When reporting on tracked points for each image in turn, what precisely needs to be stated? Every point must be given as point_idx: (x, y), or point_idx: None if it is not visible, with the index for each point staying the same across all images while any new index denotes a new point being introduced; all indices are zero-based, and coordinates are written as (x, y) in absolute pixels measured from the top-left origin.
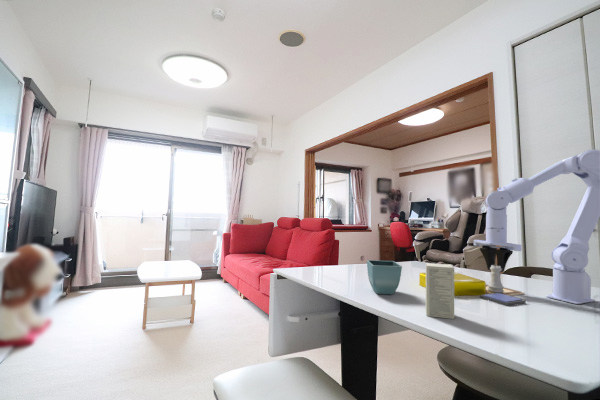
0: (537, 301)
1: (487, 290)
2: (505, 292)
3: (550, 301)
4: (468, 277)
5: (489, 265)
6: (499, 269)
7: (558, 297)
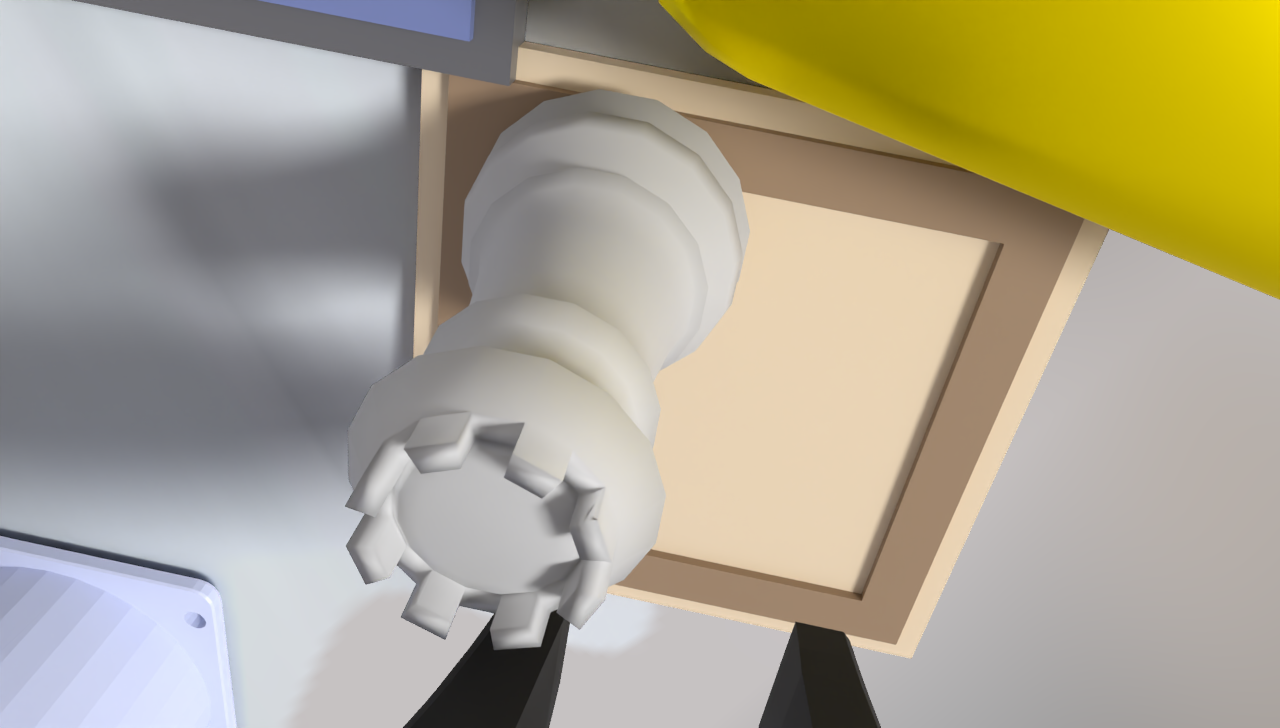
0: (100, 283)
1: (730, 153)
2: None
3: (70, 428)
4: (1170, 36)
5: (798, 717)
6: (355, 422)
7: (78, 586)
